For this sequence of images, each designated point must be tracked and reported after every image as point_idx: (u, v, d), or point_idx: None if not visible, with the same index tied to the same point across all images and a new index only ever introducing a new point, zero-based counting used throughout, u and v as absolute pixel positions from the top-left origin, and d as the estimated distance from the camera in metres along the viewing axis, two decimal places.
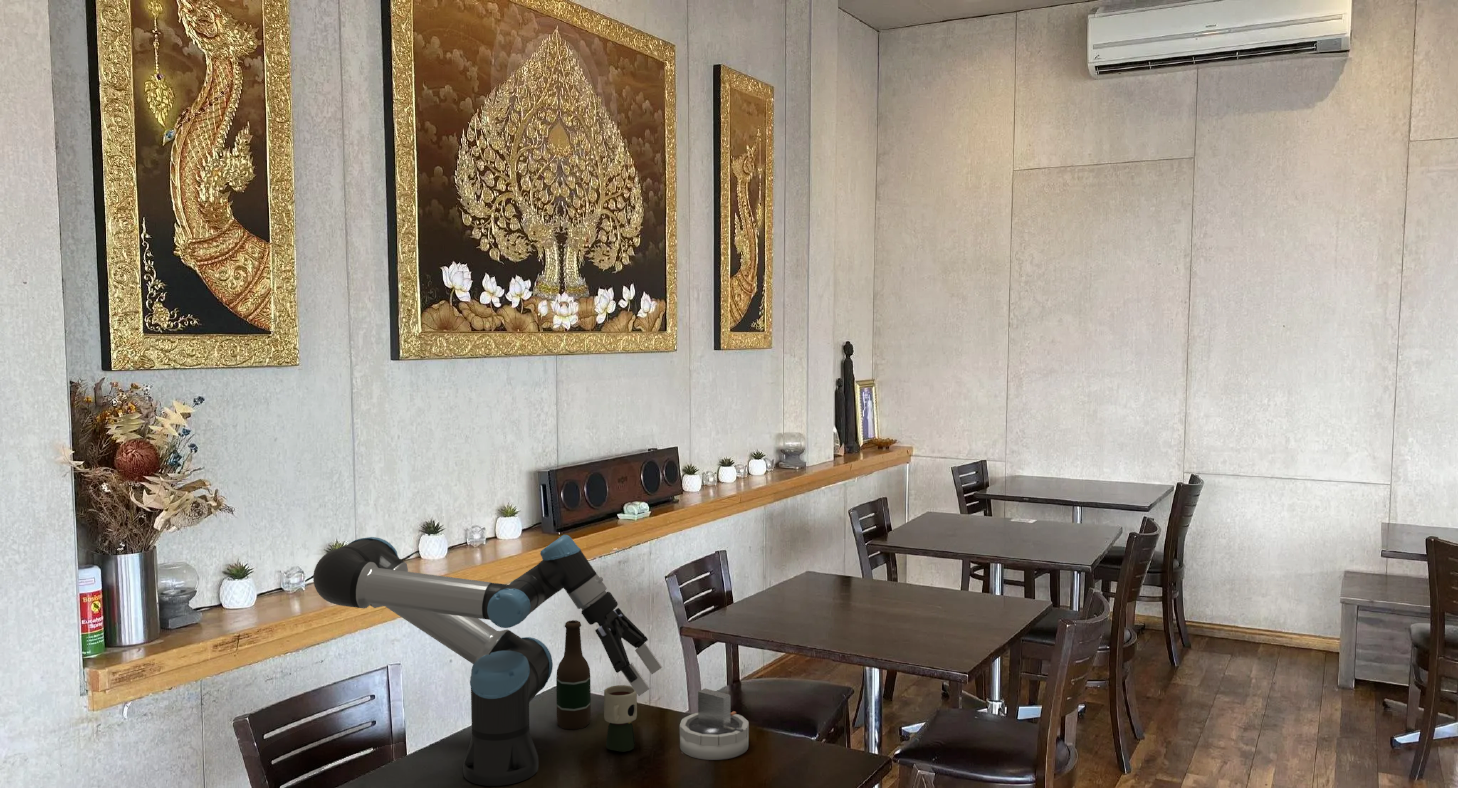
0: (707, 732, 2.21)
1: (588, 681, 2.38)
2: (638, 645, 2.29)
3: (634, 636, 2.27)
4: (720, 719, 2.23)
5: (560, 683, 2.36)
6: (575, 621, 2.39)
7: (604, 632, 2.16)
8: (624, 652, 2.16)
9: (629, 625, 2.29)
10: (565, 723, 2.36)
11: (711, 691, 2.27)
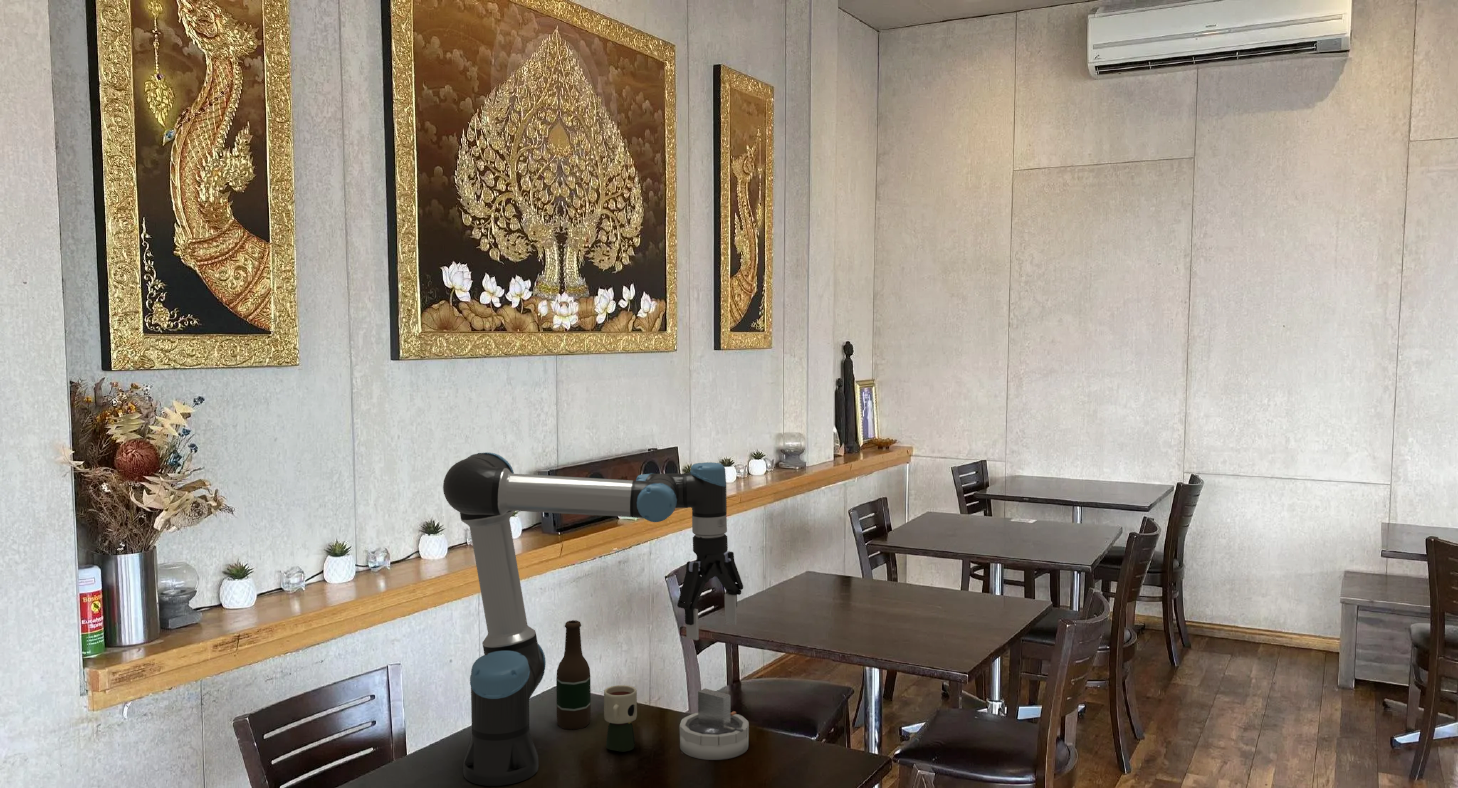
0: (707, 732, 2.21)
1: (588, 681, 2.38)
2: (730, 592, 2.30)
3: (728, 584, 2.28)
4: (720, 719, 2.23)
5: (560, 683, 2.36)
6: (575, 621, 2.39)
7: (692, 569, 2.18)
8: (697, 596, 2.18)
9: (732, 572, 2.29)
10: (565, 723, 2.36)
11: (711, 691, 2.27)
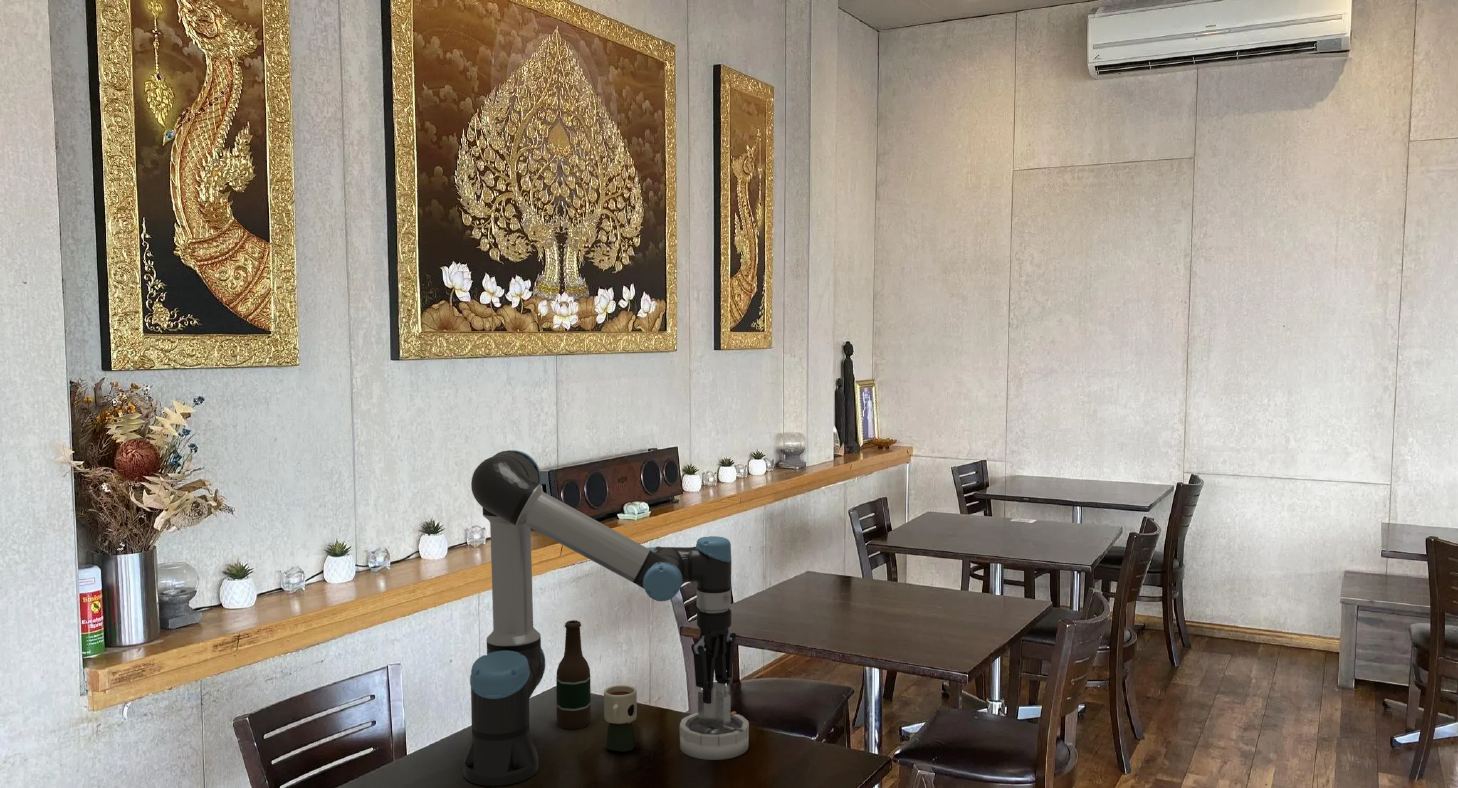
0: (707, 732, 2.21)
1: (588, 681, 2.38)
2: (718, 681, 2.27)
3: (721, 667, 2.26)
4: (720, 719, 2.23)
5: (560, 683, 2.36)
6: (575, 621, 2.39)
7: (698, 653, 2.20)
8: (712, 675, 2.23)
9: (728, 654, 2.28)
10: (565, 723, 2.36)
11: None
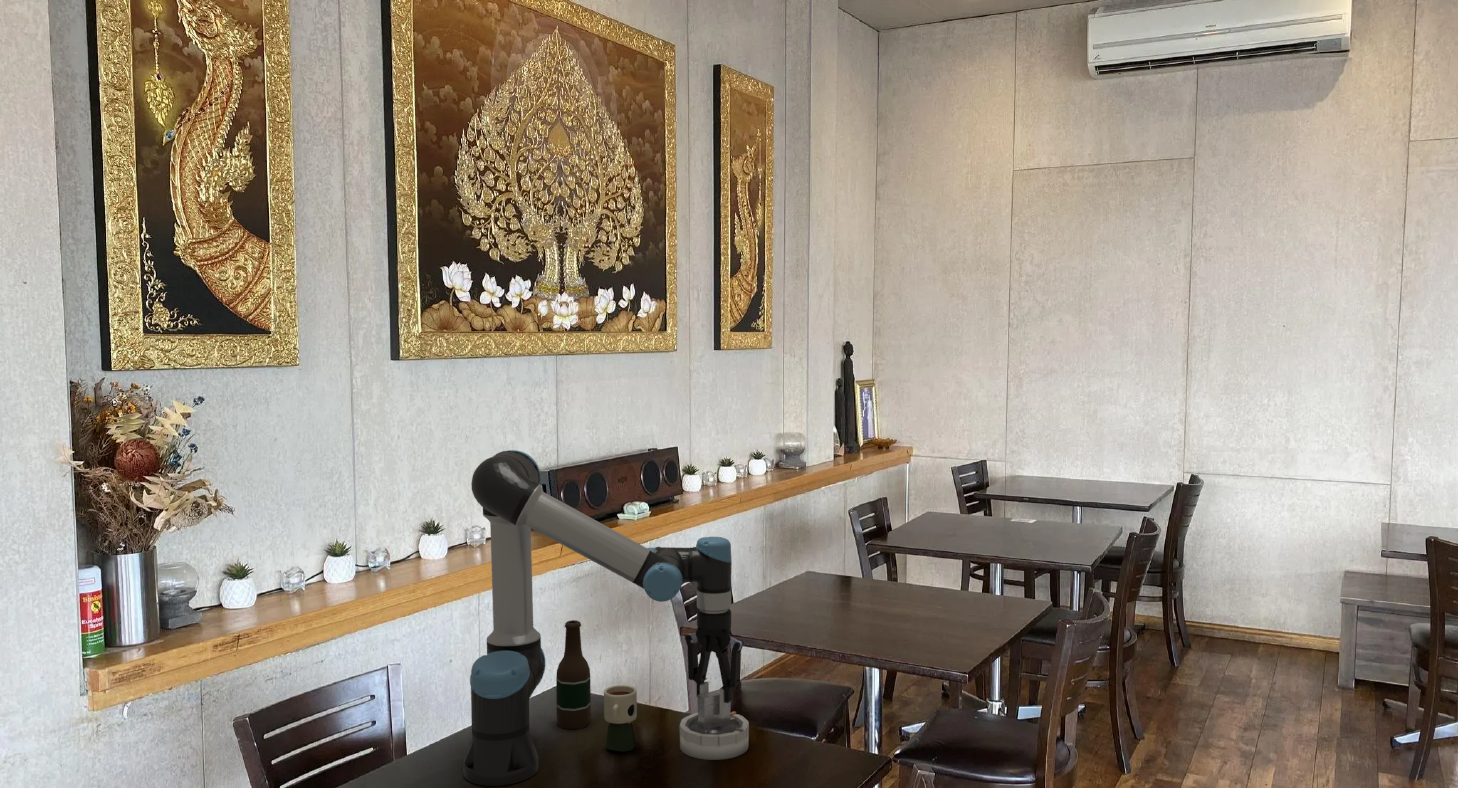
0: (732, 729, 2.23)
1: (588, 681, 2.38)
2: (702, 681, 2.26)
3: (707, 665, 2.27)
4: None
5: (560, 683, 2.36)
6: (575, 621, 2.39)
7: (740, 648, 2.23)
8: None
9: (696, 654, 2.28)
10: (565, 723, 2.36)
11: (708, 693, 2.25)
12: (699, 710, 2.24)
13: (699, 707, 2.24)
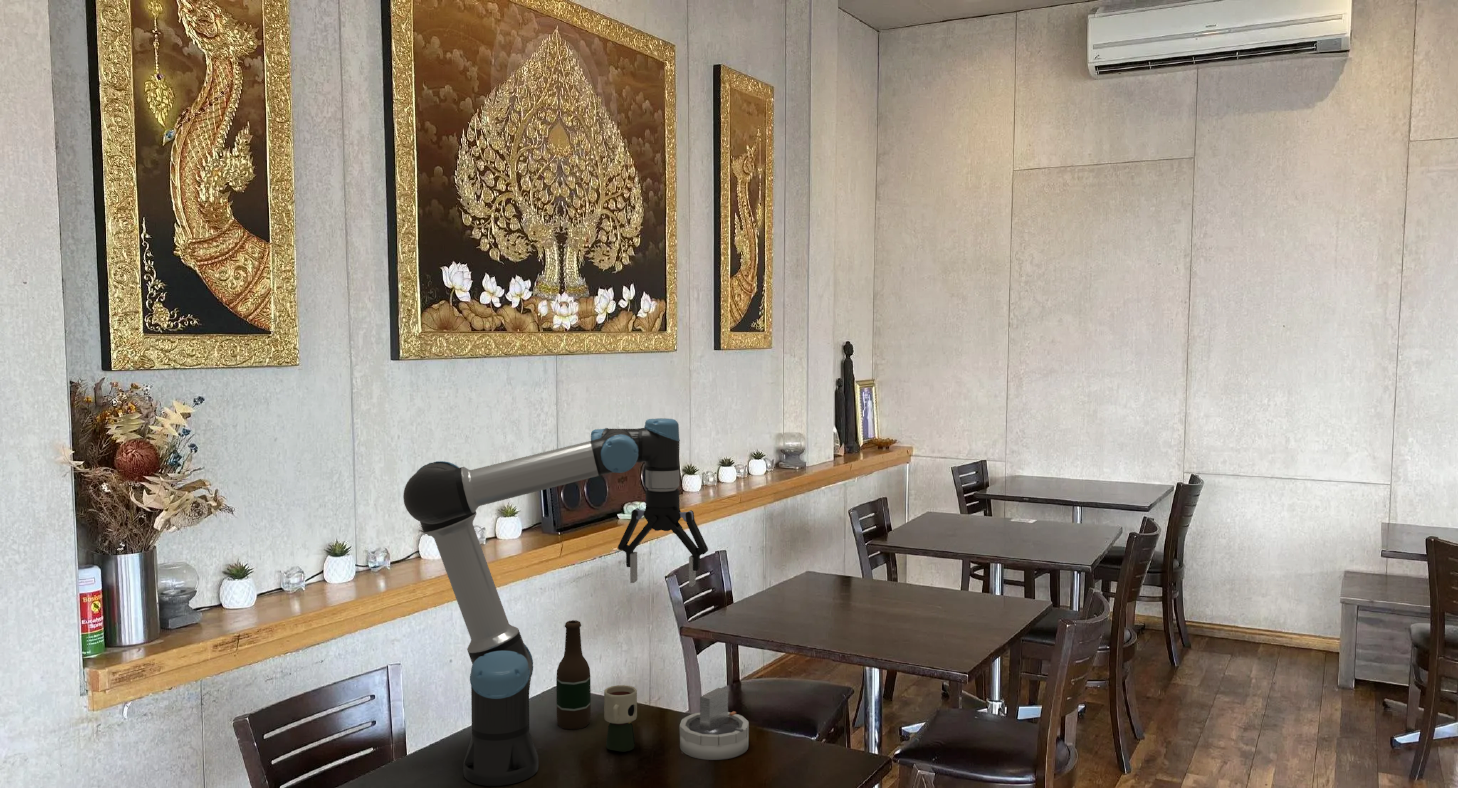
0: (735, 726, 2.25)
1: (588, 681, 2.38)
2: (631, 551, 2.31)
3: (641, 540, 2.31)
4: (725, 713, 2.27)
5: (560, 683, 2.36)
6: (575, 621, 2.39)
7: (692, 517, 2.28)
8: None
9: (634, 529, 2.31)
10: (565, 723, 2.36)
11: (709, 694, 2.25)
12: (702, 712, 2.23)
13: (702, 709, 2.23)
